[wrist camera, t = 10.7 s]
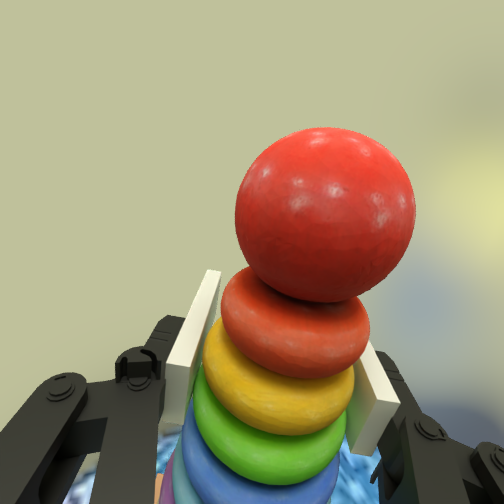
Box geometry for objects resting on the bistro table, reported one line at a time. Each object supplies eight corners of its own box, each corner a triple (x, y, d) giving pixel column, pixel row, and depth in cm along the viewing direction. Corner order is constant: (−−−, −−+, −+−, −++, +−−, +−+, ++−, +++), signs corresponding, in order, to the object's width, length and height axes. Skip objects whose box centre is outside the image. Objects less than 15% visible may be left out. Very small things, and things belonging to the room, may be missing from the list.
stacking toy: (344, 591, 13) (636, 177, 5) (162, 712, 9) (285, 62, 2) (269, 427, 19) (356, 139, 12) (146, 465, 16) (163, 97, 9)
